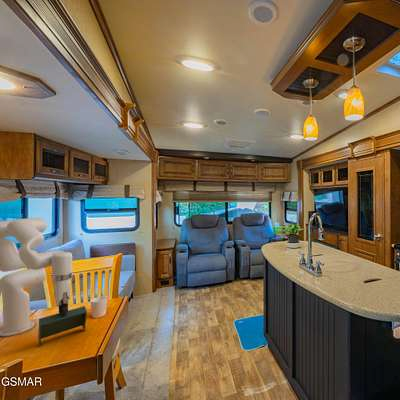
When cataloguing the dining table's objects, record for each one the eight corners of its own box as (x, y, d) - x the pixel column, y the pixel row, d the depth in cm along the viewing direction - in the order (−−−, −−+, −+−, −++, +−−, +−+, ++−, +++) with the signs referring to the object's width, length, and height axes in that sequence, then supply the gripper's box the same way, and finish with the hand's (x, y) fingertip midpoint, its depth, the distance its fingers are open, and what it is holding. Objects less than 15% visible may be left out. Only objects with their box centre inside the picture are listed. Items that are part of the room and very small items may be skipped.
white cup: (97, 319, 145) (97, 302, 144) (87, 317, 146) (86, 301, 146) (110, 312, 152) (110, 297, 152) (100, 311, 154) (100, 295, 154)
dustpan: (38, 339, 122) (39, 310, 117) (82, 324, 136) (85, 298, 130) (39, 346, 120) (40, 317, 115) (84, 330, 133) (87, 304, 128)
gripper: (49, 275, 126) (50, 310, 126) (54, 282, 117) (55, 320, 117) (69, 271, 132) (70, 305, 132) (75, 278, 122) (76, 314, 123)
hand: (63, 312), depth 125 cm, fingers closed
